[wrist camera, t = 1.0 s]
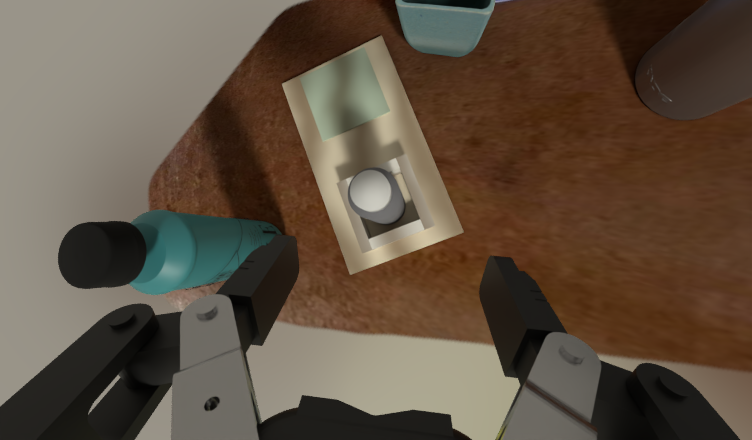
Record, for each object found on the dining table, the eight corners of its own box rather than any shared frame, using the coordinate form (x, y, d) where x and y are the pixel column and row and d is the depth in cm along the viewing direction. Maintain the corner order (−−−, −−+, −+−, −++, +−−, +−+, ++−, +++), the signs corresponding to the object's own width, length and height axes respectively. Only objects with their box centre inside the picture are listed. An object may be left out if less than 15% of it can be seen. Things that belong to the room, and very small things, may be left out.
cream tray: (382, 39, 34) (378, 19, 31) (462, 232, 31) (467, 231, 28) (284, 87, 36) (271, 72, 33) (351, 274, 33) (344, 277, 30)
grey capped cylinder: (397, 181, 32) (385, 153, 21) (411, 216, 32) (406, 205, 21) (363, 196, 33) (334, 175, 22) (376, 230, 32) (353, 226, 21)
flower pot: (417, -3, 34) (416, -87, 25) (489, 4, 33) (515, -83, 24) (400, 65, 34) (393, 4, 25) (473, 75, 32) (492, 14, 24)
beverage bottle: (237, 241, 36) (15, 245, 16) (275, 210, 35) (93, 175, 16) (263, 282, 35) (61, 339, 15) (303, 251, 34) (146, 268, 15)
